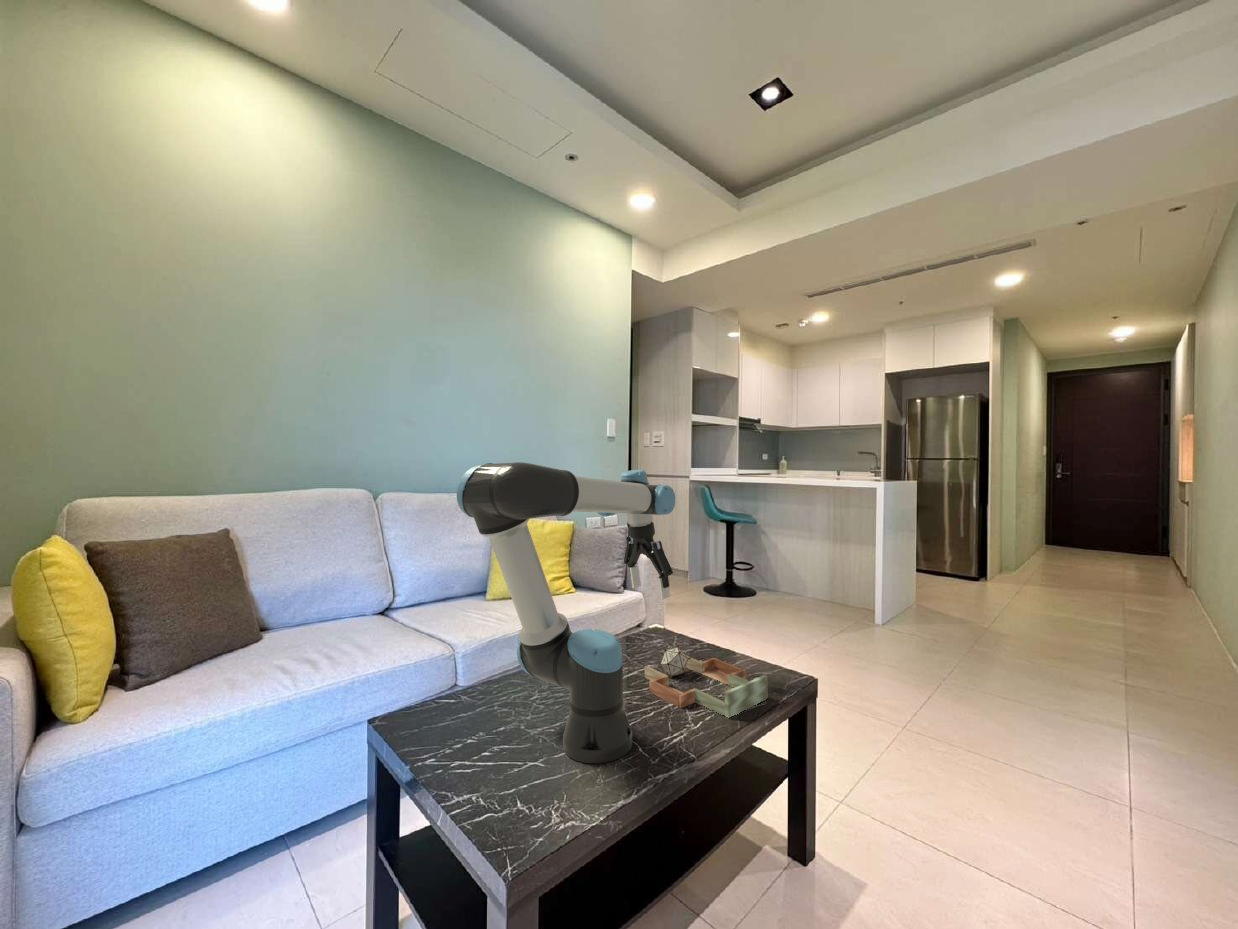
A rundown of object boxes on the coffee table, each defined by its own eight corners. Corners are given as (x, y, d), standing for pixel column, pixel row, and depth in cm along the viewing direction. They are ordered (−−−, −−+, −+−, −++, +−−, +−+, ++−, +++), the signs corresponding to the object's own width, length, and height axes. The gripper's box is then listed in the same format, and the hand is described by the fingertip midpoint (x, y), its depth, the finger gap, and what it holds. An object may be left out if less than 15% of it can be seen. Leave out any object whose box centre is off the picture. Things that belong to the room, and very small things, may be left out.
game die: (681, 690, 142) (693, 669, 137) (653, 680, 142) (664, 658, 137) (683, 664, 150) (695, 643, 145) (657, 654, 150) (667, 633, 145)
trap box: (714, 725, 115) (713, 699, 115) (631, 682, 140) (630, 660, 140) (779, 694, 130) (779, 671, 130) (694, 660, 154) (693, 640, 155)
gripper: (679, 524, 136) (688, 597, 139) (625, 515, 157) (635, 579, 160) (658, 532, 132) (668, 607, 135) (606, 521, 153) (616, 586, 155)
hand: (650, 592), depth 147 cm, fingers open, 13 cm apart
